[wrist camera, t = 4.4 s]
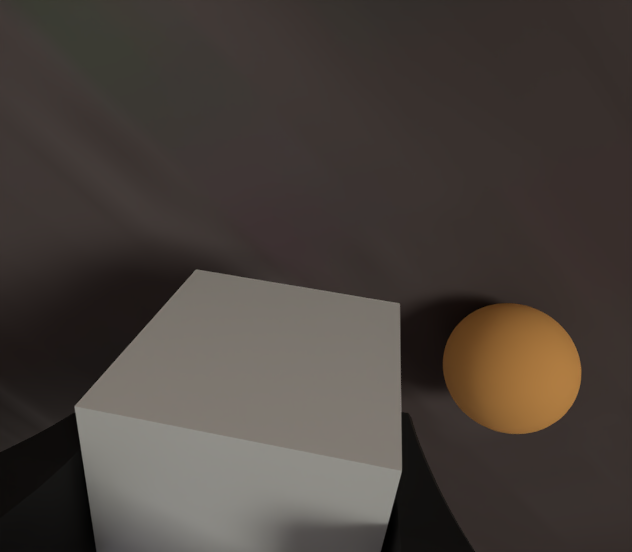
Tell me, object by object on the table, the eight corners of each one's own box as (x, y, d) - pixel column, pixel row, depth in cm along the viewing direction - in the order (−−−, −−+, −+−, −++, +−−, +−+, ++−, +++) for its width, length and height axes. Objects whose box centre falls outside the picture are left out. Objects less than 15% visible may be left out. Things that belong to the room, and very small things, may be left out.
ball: (536, 387, 22) (571, 475, 18) (427, 367, 22) (434, 448, 18) (575, 293, 20) (627, 365, 15) (453, 272, 20) (469, 337, 16)
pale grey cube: (367, 456, 16) (352, 657, 11) (196, 422, 17) (103, 599, 11) (399, 303, 14) (402, 470, 8) (196, 269, 14) (74, 406, 9)
